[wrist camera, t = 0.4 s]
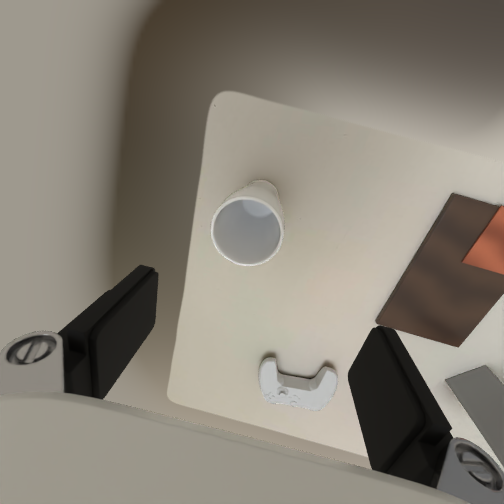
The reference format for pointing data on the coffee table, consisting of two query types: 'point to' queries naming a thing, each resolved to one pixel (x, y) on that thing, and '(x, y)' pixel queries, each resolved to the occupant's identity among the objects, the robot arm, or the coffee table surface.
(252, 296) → the coffee table surface
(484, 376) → the perfume bottle
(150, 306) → the robot arm
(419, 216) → the coffee table surface
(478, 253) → the corner board
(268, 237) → the drinking glass
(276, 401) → the game controller
